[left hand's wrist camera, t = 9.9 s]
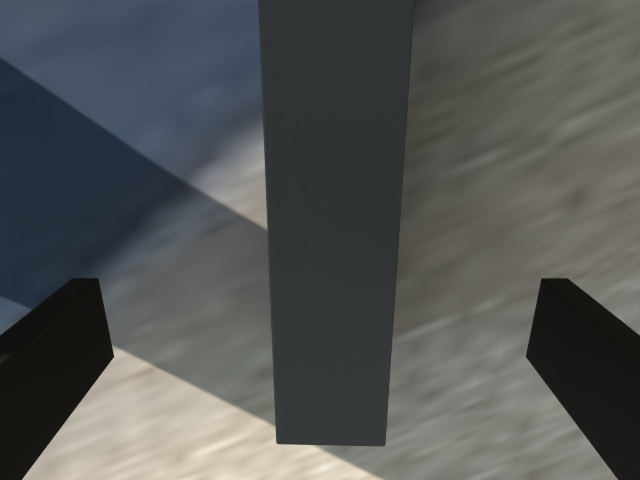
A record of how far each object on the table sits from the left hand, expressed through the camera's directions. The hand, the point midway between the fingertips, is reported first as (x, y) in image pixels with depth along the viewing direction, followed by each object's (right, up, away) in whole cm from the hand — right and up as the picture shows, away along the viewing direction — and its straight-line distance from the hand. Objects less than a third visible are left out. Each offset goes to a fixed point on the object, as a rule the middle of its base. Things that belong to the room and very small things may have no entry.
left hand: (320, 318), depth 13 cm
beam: (+1, +34, 0) cm, 34 cm away
